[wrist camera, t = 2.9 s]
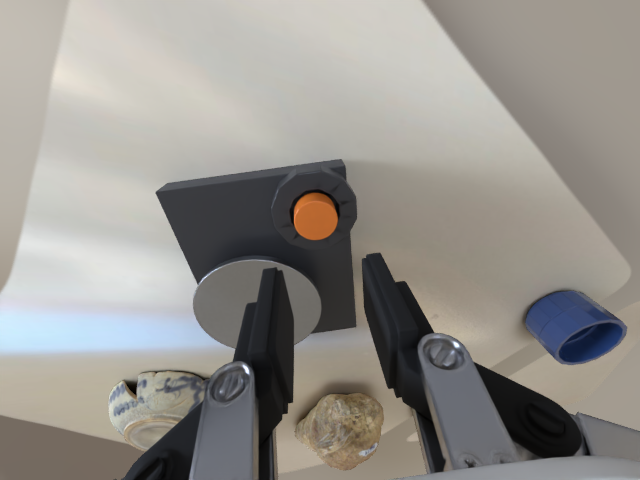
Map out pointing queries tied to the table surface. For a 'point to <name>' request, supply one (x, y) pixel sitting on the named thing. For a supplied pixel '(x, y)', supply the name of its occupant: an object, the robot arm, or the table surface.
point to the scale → (269, 227)
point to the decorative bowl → (154, 405)
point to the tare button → (315, 216)
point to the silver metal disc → (251, 297)
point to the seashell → (342, 429)
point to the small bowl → (574, 327)
